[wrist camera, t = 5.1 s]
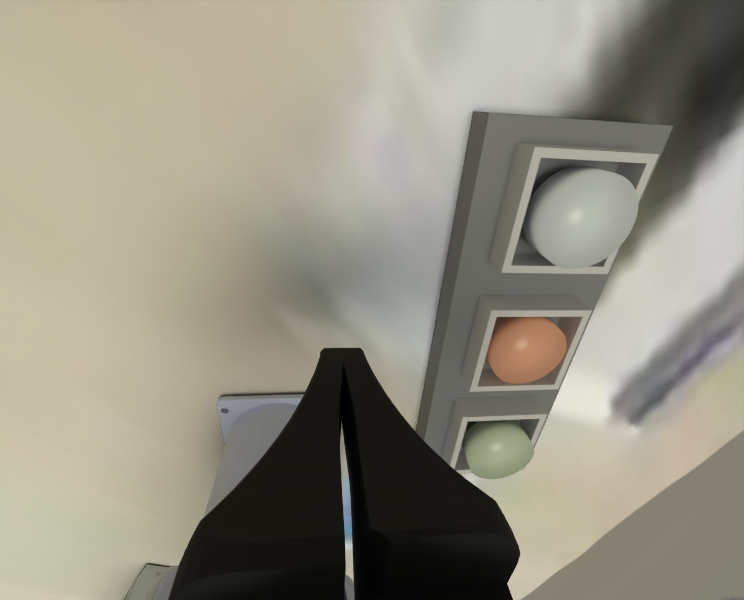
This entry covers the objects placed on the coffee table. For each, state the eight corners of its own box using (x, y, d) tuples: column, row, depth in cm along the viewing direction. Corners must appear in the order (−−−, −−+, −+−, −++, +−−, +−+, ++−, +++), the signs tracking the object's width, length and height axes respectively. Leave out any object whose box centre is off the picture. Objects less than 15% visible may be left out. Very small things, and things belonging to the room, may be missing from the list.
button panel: (517, 438, 30) (539, 478, 27) (414, 443, 29) (424, 484, 26) (640, 123, 18) (704, 128, 15) (473, 111, 17) (504, 114, 14)
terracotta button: (539, 365, 23) (552, 382, 22) (474, 367, 23) (484, 384, 21) (561, 307, 21) (577, 322, 20) (490, 307, 20) (502, 323, 19)
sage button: (513, 457, 26) (523, 477, 25) (456, 460, 26) (463, 480, 24) (530, 414, 24) (542, 434, 23) (468, 417, 24) (476, 437, 22)
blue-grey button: (592, 256, 18) (614, 269, 17) (512, 255, 18) (527, 268, 17) (628, 167, 16) (655, 174, 15) (538, 163, 16) (558, 169, 14)
